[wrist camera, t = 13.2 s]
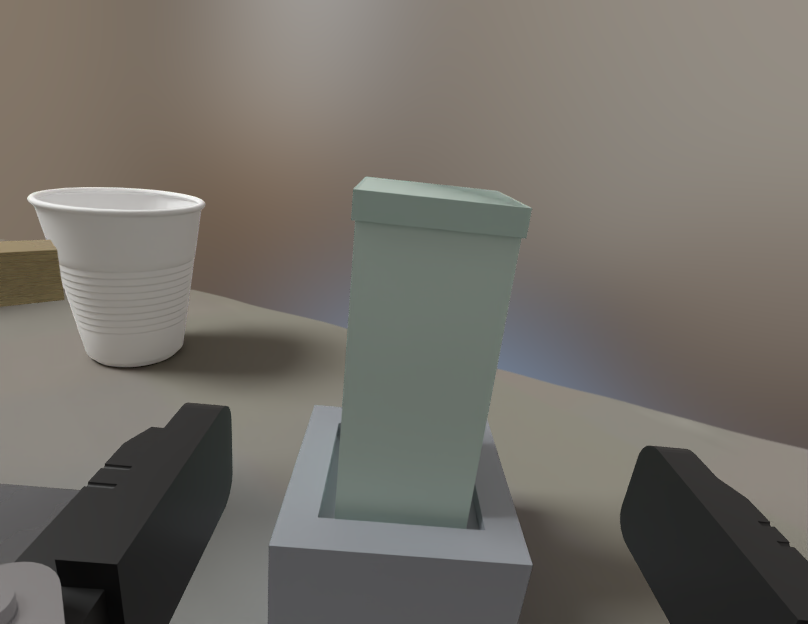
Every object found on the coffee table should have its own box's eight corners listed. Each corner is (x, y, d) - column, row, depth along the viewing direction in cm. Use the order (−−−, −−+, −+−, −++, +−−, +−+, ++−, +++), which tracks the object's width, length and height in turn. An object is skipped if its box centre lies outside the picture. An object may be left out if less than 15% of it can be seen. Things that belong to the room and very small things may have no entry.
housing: (506, 667, 16) (532, 565, 14) (267, 652, 16) (268, 545, 14) (472, 499, 23) (487, 420, 22) (310, 486, 23) (314, 404, 22)
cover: (468, 534, 16) (531, 208, 12) (330, 523, 16) (353, 189, 12) (454, 449, 21) (497, 190, 17) (345, 440, 20) (365, 176, 17)
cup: (216, 373, 33) (211, 213, 29) (39, 392, 28) (5, 206, 25) (205, 321, 41) (200, 191, 37) (66, 329, 37) (45, 183, 33)
